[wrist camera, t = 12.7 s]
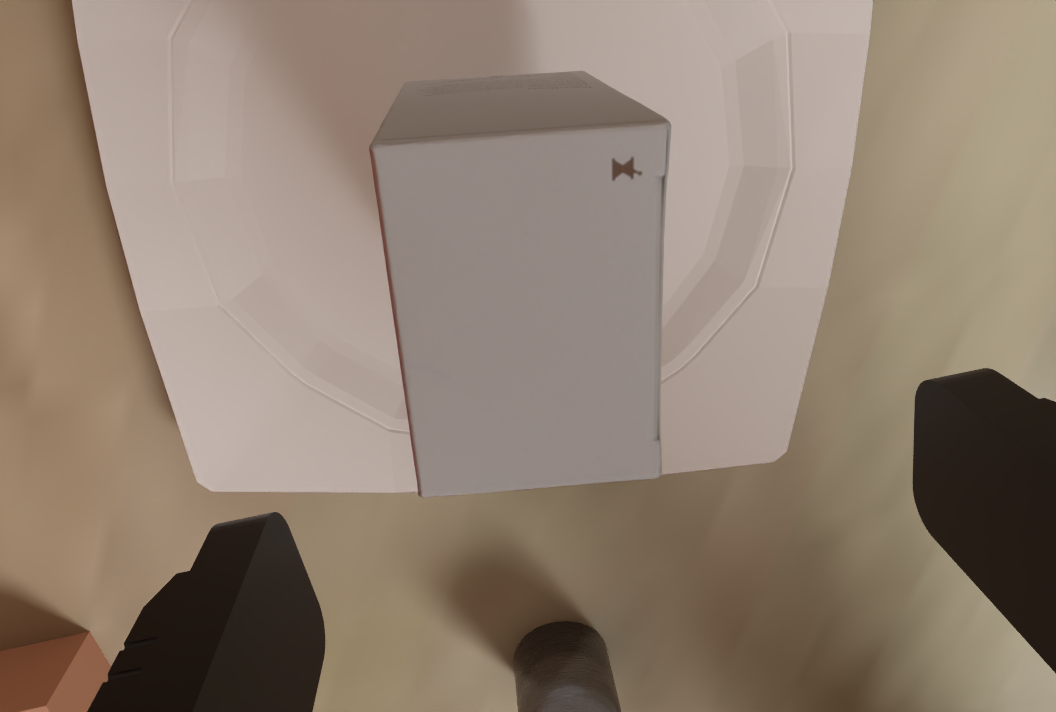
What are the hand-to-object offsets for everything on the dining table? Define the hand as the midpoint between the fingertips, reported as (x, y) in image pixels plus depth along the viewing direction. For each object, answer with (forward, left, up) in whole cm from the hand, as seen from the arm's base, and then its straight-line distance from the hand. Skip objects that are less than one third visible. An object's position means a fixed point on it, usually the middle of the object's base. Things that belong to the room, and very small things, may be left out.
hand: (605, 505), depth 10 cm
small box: (0, 0, -17) cm, 17 cm away
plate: (+1, -1, -20) cm, 20 cm away
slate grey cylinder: (+2, +22, -19) cm, 29 cm away
